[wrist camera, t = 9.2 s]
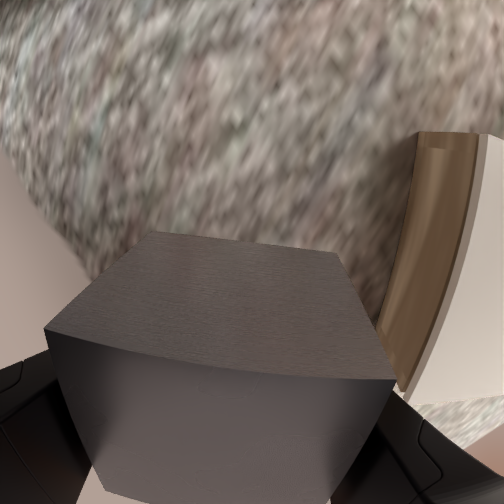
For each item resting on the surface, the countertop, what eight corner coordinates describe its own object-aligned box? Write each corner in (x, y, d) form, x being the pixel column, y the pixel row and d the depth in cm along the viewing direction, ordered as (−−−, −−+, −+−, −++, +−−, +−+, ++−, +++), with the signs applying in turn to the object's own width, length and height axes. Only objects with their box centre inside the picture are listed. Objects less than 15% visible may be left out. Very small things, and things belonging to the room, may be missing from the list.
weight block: (336, 253, 8) (396, 379, 4) (302, 391, 10) (311, 522, 5) (152, 231, 9) (43, 328, 4) (156, 371, 10) (105, 490, 6)
